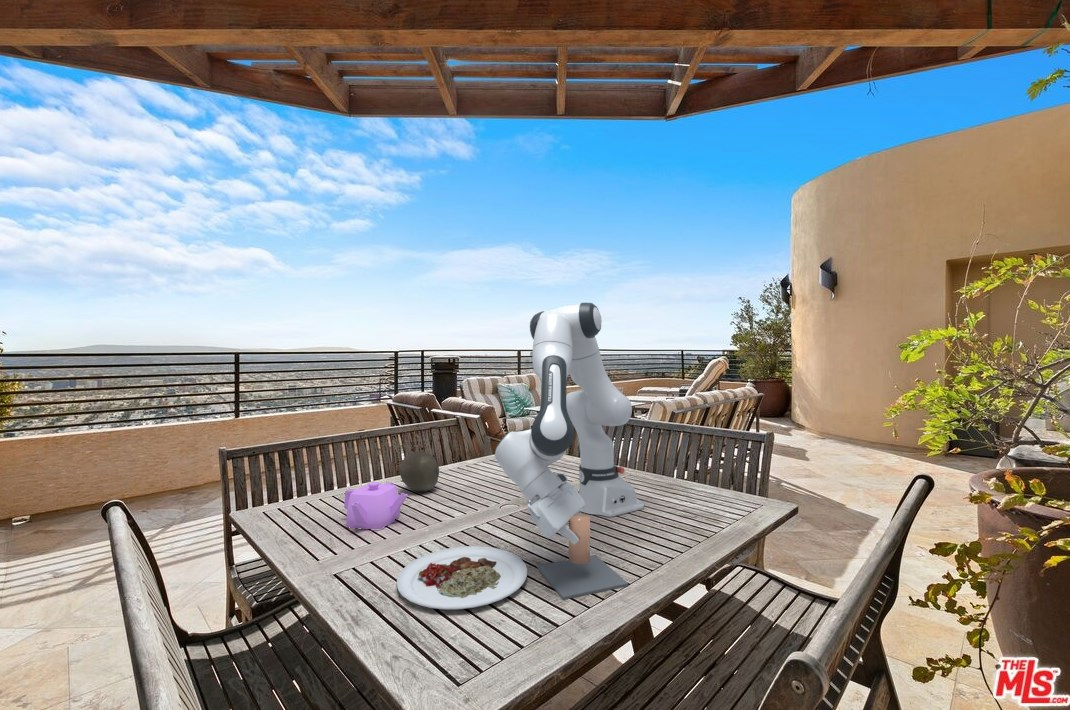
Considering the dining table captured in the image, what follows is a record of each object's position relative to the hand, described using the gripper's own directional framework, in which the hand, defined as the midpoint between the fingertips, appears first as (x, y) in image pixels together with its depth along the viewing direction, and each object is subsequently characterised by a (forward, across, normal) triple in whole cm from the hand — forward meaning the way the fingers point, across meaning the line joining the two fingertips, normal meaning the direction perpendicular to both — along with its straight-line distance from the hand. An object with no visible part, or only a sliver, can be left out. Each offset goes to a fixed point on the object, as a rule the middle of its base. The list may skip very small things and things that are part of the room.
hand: (582, 537), depth 113 cm
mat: (+6, 0, +7) cm, 10 cm away
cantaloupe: (-48, +40, +62) cm, 88 cm away
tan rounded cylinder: (+3, 0, +4) cm, 5 cm away
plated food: (-11, -12, +25) cm, 30 cm away
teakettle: (-43, +9, +57) cm, 72 cm away
